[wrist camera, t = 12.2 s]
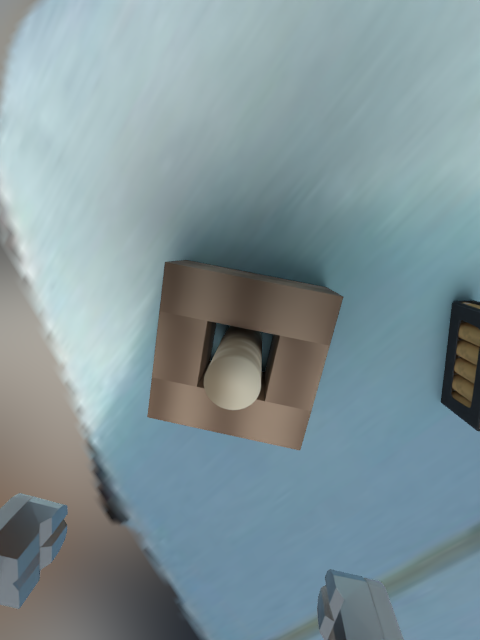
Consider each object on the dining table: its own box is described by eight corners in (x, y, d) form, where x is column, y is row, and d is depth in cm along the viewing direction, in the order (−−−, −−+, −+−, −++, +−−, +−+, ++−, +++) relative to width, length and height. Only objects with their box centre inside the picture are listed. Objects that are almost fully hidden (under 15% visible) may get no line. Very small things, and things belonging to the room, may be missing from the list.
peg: (265, 325, 28) (266, 363, 19) (257, 361, 29) (254, 415, 20) (227, 318, 29) (208, 351, 19) (221, 354, 30) (199, 403, 20)
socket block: (326, 287, 27) (343, 296, 21) (293, 412, 30) (300, 450, 25) (186, 260, 27) (165, 261, 22) (169, 386, 31) (147, 417, 25)
